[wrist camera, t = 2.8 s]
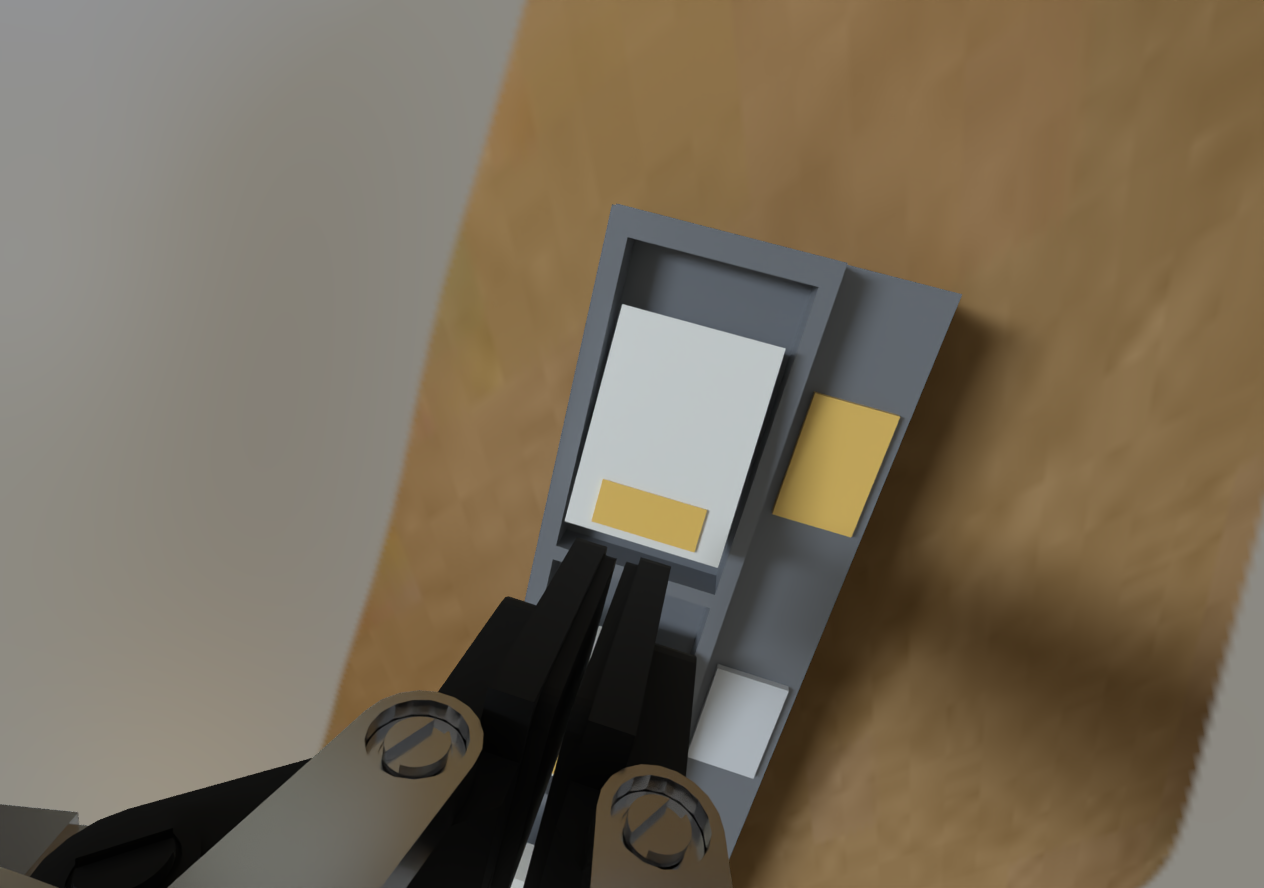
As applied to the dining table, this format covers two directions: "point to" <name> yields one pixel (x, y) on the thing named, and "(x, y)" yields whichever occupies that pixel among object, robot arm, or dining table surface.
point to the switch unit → (757, 466)
